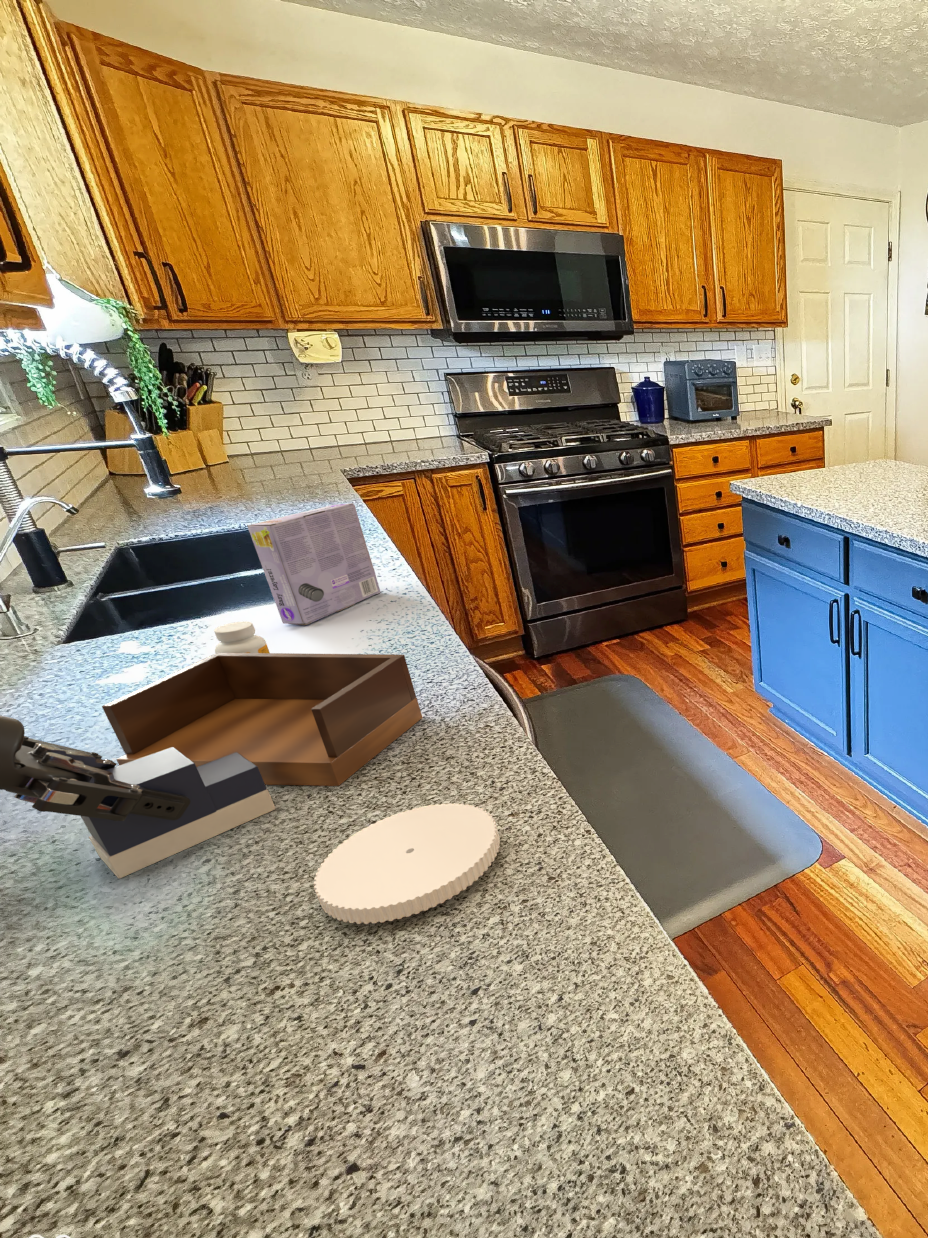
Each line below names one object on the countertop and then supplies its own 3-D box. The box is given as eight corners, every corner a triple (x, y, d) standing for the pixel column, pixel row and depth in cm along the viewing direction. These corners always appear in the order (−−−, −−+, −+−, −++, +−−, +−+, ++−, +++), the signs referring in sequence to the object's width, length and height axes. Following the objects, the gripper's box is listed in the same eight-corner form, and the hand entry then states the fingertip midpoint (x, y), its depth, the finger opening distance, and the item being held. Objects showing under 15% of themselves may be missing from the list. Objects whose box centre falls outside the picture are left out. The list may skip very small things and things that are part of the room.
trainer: (118, 879, 62) (78, 806, 59) (99, 857, 65) (60, 786, 62) (275, 809, 72) (248, 742, 69) (253, 792, 75) (226, 727, 71)
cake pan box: (363, 590, 136) (336, 500, 129) (387, 590, 136) (361, 500, 129) (279, 626, 119) (242, 524, 112) (306, 627, 118) (271, 525, 111)
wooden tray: (127, 782, 76) (91, 710, 73) (242, 715, 90) (217, 652, 87) (338, 786, 76) (312, 713, 72) (422, 717, 89) (404, 654, 86)
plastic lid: (512, 890, 61) (506, 867, 60) (317, 959, 54) (306, 935, 53) (492, 807, 72) (487, 787, 71) (328, 856, 65) (319, 835, 64)
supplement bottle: (248, 702, 94) (221, 636, 90) (223, 695, 95) (196, 631, 92) (290, 685, 98) (267, 622, 94) (266, 679, 100) (242, 617, 96)
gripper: (-37, 727, 50) (225, 783, 64) (-75, 681, 57) (169, 740, 71) (-115, 827, 48) (173, 862, 62) (-144, 766, 55) (121, 810, 69)
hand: (170, 797), depth 67 cm, fingers open, 6 cm apart
